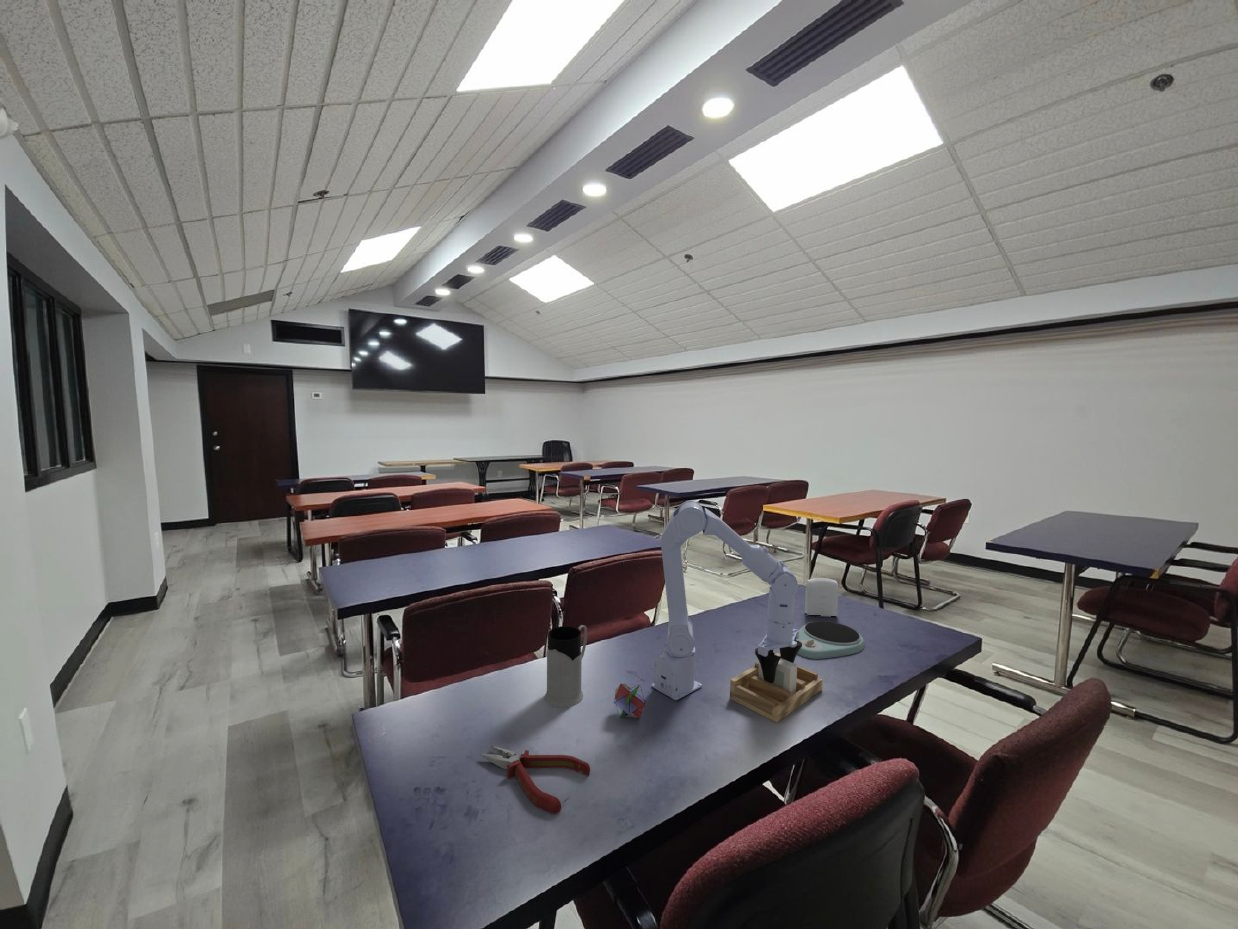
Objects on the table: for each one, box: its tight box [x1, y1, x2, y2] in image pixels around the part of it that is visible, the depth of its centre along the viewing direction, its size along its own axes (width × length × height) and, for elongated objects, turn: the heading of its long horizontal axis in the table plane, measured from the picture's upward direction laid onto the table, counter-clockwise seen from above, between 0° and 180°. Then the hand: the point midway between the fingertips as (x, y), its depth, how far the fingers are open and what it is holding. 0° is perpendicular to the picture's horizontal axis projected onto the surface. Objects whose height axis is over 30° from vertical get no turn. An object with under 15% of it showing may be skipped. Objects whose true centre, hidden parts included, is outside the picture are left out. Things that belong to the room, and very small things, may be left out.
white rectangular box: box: [758, 658, 798, 696], centre depth 115 cm, size 3×8×7 cm, turn 42°
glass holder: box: [544, 624, 588, 709], centre depth 114 cm, size 9×14×15 cm, turn 154°
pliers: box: [479, 745, 591, 814], centre depth 88 cm, size 12×20×3 cm, turn 63°
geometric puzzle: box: [612, 683, 647, 720], centre depth 105 cm, size 7×7×8 cm
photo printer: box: [804, 577, 839, 617], centre depth 162 cm, size 10×4×12 cm, turn 85°
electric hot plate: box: [796, 620, 865, 660], centre depth 141 cm, size 18×4×25 cm
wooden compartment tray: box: [729, 652, 824, 723], centre depth 114 cm, size 20×12×5 cm, turn 132°
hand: (777, 675), depth 114 cm, fingers open, 7 cm apart
